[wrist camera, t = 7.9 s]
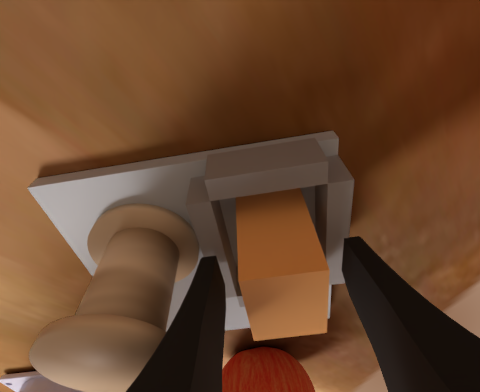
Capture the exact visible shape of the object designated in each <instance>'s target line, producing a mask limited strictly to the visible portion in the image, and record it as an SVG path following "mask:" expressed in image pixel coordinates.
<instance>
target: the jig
mask: <svg viewBox="0 0 480 392" xmlns="http://www.w3.org/2000/svg"><path fill="white" fill-rule="evenodd" d="M338 145H339V138H338V136H337V135H336V134H335V132H334V131H327V132H321V133H315V134H308V135H302V136H296V137H290V138H284V139H277V140H271V141H265V142H259V143H253V144H247V145H240V146H234V147H228V148H222V149H216V150H209V151H203V152H197V153H191V154H185V155H178V156H172V157H166V158H160V159H154V160H147V161H141V162H135V163H129V164H123V165H116V166H110V167H104V168H98V169H92V170H86V171H79V172H73V173H67V174H61V175H55V176H48V177H42V178H37V179H36V180H35V181H34V182H33V183H32V184H31V185H30V186H29V187H28V190H29V191H30V192H31V194H32V195H33V196H34V198H35V199H36V201H37V202H38V203H39V205H40V206H41V207H42V209H43V210H44V211H45V213H46V214H47V215H48V217H49V218H50V219H51V221H52V222H53V224H54V225H55V226H56V228H57V229H58V230H59V232H60V233H61V234H62V236H63V237H64V238H65V240H66V241H67V242H68V244H69V245H70V247H71V248H72V249H73V251H74V252H75V253H76V255H77V256H78V257H79V259H80V260H81V261H82V263H83V264H84V266H85V267H86V268H87V270H88V271H89V272H90V274H91V275H92V276H93V275H94V273H95V271H96V269H97V267H98V265H97V264H96V263H95V262H94V261H93V259H92V257H91V256H90V253H89V251H88V246H87V239H88V235H89V233H90V231H91V229H92V227H93V225H94V224H95V222H96V221H97V219H98V218H99V217H100V216H101V215H102V214H103V213H105V212H106V211H108V210H110V209H112V208H114V207H117V206H120V205H125V204H134V203H139V204H150V205H155V206H159V207H162V208H165V209H168V210H170V211H172V212H174V213H176V214H178V215H179V216H181V217H182V218H183V219H185V220H186V221H187V222H188V223H189V224H190V225H191V226H192V228H193V229H194V231H195V234H196V237H197V240H198V242H199V256H198V262H197V265H196V266H195V268H194V270H193V271H192V272H191V273H190V274H189V275H188V276H187V277H185V278H184V279H182V280H180V281H178V282H175V283H174V289H173V294H172V300H171V305H170V311H169V316H168V322H167V327H166V332H167V330H168V329H169V327H170V325H171V323H172V321H173V319H174V318H175V316H176V314H177V312H178V310H179V308H180V306H181V304H182V302H183V300H184V298H185V296H186V293H187V291H188V289H189V287H190V285H191V282H192V280H193V278H194V275H195V273H196V270H197V267H198V265H199V262H200V259H201V258H202V257H208V256H216V257H217V260H218V263H219V266H220V270H221V273H222V276H223V279H224V283H225V292H226V318H225V331H226V330H234V329H243V328H250V324H249V320H248V316H247V312H246V309H245V305H244V301H243V297H242V293H241V289H240V285H239V282H238V253H237V224H236V197H242V196H249V195H256V194H262V193H269V192H276V191H282V190H289V189H296V188H300V189H301V192H302V195H303V197H304V200H305V203H306V206H307V208H308V211H309V214H310V217H311V219H312V222H313V225H314V228H315V231H316V233H317V236H318V239H319V242H320V244H321V247H322V250H323V253H324V256H325V258H326V261H327V264H328V267H329V269H330V273H329V296H328V318H330V304H331V285H333V284H341V283H345V280H344V277H343V273H342V258H343V246H344V238H349V232H350V221H351V211H352V200H353V190H354V178H353V177H352V175H351V174H350V172H349V171H348V169H347V168H346V166H345V165H344V163H343V162H342V160H341V159H340V157H339V156H338ZM328 318H327V319H328Z"/></svg>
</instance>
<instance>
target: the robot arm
mask: <svg viewBox="0 0 480 392" xmlns="http://www.w3.org/2000/svg"><path fill="white" fill-rule="evenodd" d="M342 273H343V277H344V280H345V283H346V286H347V289H348V292H349V295H350V297H351V300H352V302H353V304H354V306H355V309H356V311H357V313H358V315H359V318H360V320H361V322H362V324H363V327H364V329H365V331H366V333H367V336H368V338H369V340H370V342H371V344H372V347H373V349H374V352H375V354H376V357H377V360H378V363H379V365H380V368H381V371H382V374H383V377H384V380H385V383H386V386H387V389H388V392H480V338H479V337H477V336H476V335H474V334H473V333H471V332H469V331H468V330H467V329H465V328H464V327H462V326H461V325H460V324H458V323H457V322H455V321H454V320H453V319H451V318H450V317H449V316H447V315H446V314H445V313H443V312H442V311H441V310H439V309H438V308H437V307H435V306H434V305H433V304H432V303H430V302H429V301H428V300H427V299H425V298H424V297H423V296H422V295H421V294H419V293H418V292H417V291H416V290H415V289H414V288H412V287H411V286H410V285H409V284H408V283H407V282H406V281H404V280H403V279H402V278H401V277H400V276H399V275H398V274H397V273H396V272H395V271H394V270H393V269H391V268H390V267H389V266H388V265H387V264H386V263H385V262H384V261H383V260H382V259H381V258H380V257H379V256H378V255H377V254H376V253H375V252H374V251H373V250H372V249H371V248H370V247H369V246H368V244H367V243H366V242H365V241H364V240H363V239H362V238H361V237H359V236H358V237H350V238H344V246H343V258H342ZM225 318H226V292H225V283H224V279H223V276H222V273H221V270H220V266H219V263H218V260H217V257H216V256H208V257H202V258H201V259H200V262H199V265H198V267H197V270H196V273H195V275H194V278H193V280H192V282H191V285H190V287H189V289H188V291H187V293H186V296H185V298H184V300H183V302H182V304H181V306H180V308H179V310H178V312H177V314H176V316H175V318H174V319H173V321H172V323H171V325H170V327H169V329H168V330H167V332H166V334H165V335H164V337H163V339H162V340H161V342H160V344H159V345H158V347H157V348H156V350H155V352H154V353H153V355H152V356H151V358H150V359H149V361H148V362H147V363H146V365H145V366H144V368H143V369H142V371H141V372H140V374H139V375H138V376H137V378H136V379H135V380H134V382H133V383H132V384H131V386H130V387H129V388H128V389H127V391H126V392H222V362H223V347H224V333H225ZM0 382H1V383H2V384H4V385H6V386H7V387H9V388H10V389H12V390H14V391H15V392H84V391H80V390H76V389H72V388H69V387H66V386H63V385H60V384H58V383H55V382H53V381H51V380H49V379H48V378H46V377H44V376H43V375H41V374H40V373H39V372H38V371H33V372H24V373H15V374H6V375H2V376H1V378H0Z"/></svg>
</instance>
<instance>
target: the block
mask: <svg viewBox="0 0 480 392" xmlns="http://www.w3.org/2000/svg"><path fill="white" fill-rule="evenodd" d="M236 224H237V253H238V282H239V285H240V289H241V293H242V297H243V301H244V305H245V309H246V312H247V316H248V320H249V324H250V328H251V332H252V336H253V339H254V341H259V340H268V339H277V338H285V337H294V336H303V335H312V334H321V333H327V318H328V296H329V273H330V269H329V267H328V264H327V261H326V258H325V256H324V253H323V250H322V247H321V244H320V242H319V239H318V236H317V233H316V231H315V228H314V225H313V222H312V219H311V217H310V214H309V211H308V208H307V206H306V203H305V200H304V197H303V195H302V192H301V189H300V188H296V189H289V190H282V191H276V192H269V193H262V194H256V195H249V196H242V197H236Z"/></svg>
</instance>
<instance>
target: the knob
mask: <svg viewBox="0 0 480 392" xmlns="http://www.w3.org/2000/svg"><path fill="white" fill-rule="evenodd" d="M87 246H88V251H89V253H90V256H91V257H92V259H93V261H94V262H95V263H96V264H97V265H98V267H97V269H96V271H95V273H94V275H93V277H92V279H91V282H90V284H89V286H88V288H87V290H86V292H85V294H84V296H83V299H82V301H81V303H80V305H79V307H78V309H77V311H76V313H75V315H74V316H69V317H65V318H62V319H59V320H56V321H54V322H52V323H50V324H48V325H47V326H46V327H44V328H43V329H42V330H41V332H40V333H39V334H38V336H37V338H36V340H35V342H34V344H33V345H32V347H31V349H30V352H29V359H30V362H31V364H32V366H33V367H34V368H35V369H36V370H37V371H38V372H39V373H40V374H41V375H43V376H44V377H46V378H48V379H49V380H51V381H53V382H55V383H58V384H60V385H63V386H66V387H69V388H72V389H76V390H80V391H84V392H126V391H127V389H128V388H129V387H130V386H131V384H132V383H133V382H134V380H135V379H136V378H137V376H138V375H139V374H140V372H141V371H142V369H143V368H144V366H145V365H146V363H147V362H148V361H149V359H150V358H151V356H152V355H153V353H154V352H155V350H156V348H157V347H158V345H159V344H160V342H161V340H162V339H163V337H164V335H165V334H166V327H167V322H168V316H169V311H170V305H171V300H172V294H173V289H174V283H175V282H178V281H180V280H182V279H184V278H185V277H187V276H188V275H189V274H190V273H191V272H192V271H193V270H194V268H195V266H196V265H197V262H198V256H199V242H198V240H197V237H196V234H195V231H194V229H193V228H192V226H191V225H190V224H189V223H188V222H187V221H186V220H185V219H183V218H182V217H181V216H179V215H178V214H176V213H174V212H172V211H170V210H168V209H165V208H162V207H159V206H155V205H150V204H139V203H134V204H125V205H120V206H117V207H114V208H112V209H110V210H108V211H106V212H105V213H103V214H102V215H101V216H100V217H99V218H98V219H97V221H96V222H95V224H94V225H93V227H92V229H91V231H90V233H89V235H88V239H87Z"/></svg>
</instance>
